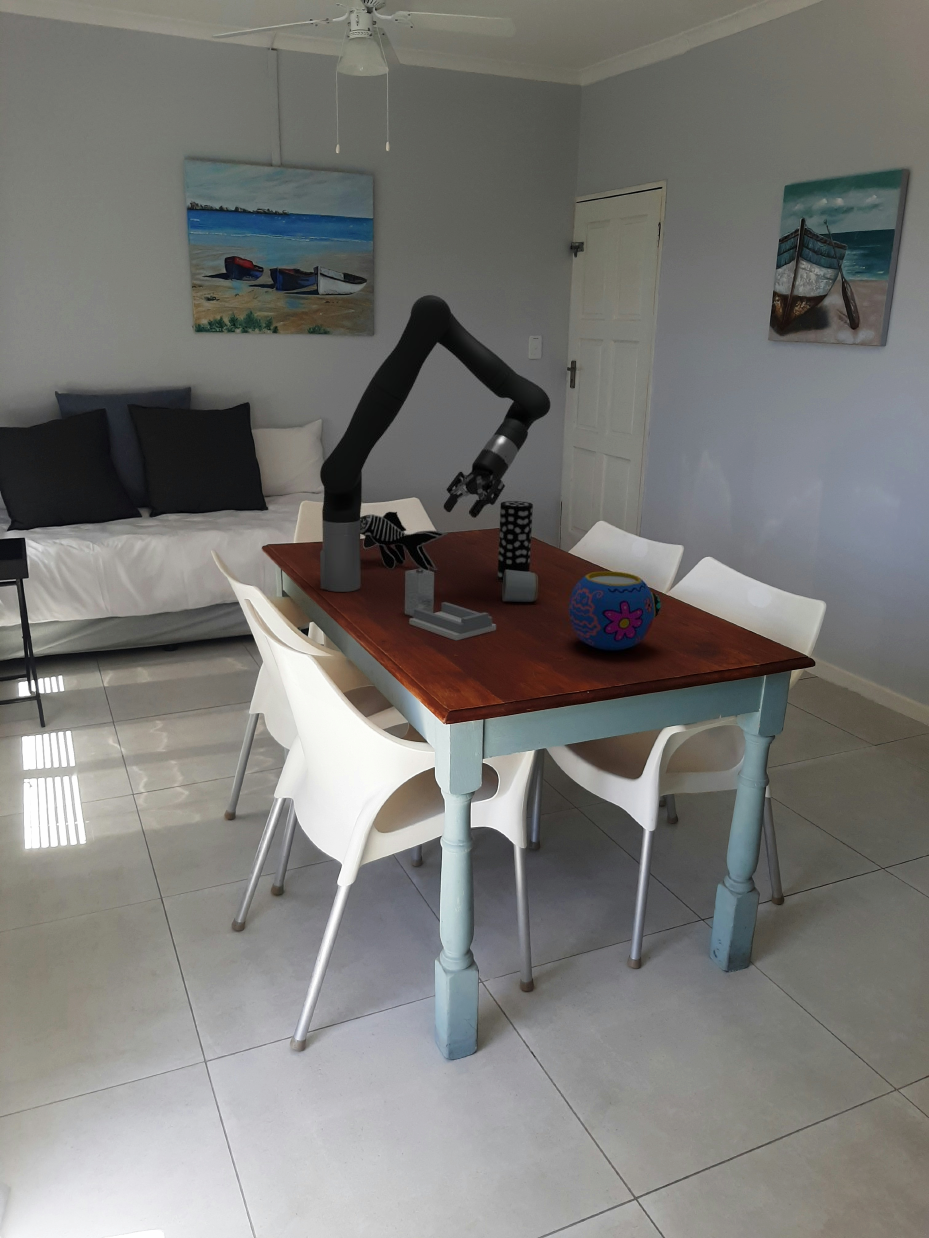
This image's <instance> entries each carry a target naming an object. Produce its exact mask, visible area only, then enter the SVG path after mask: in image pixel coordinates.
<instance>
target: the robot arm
mask: <svg viewBox="0 0 929 1238" xmlns="http://www.w3.org/2000/svg"><path fill="white" fill-rule="evenodd" d="M437 344H439V345H441V346H442V347H443V348H445V349H446V350H447V351H449V352H450V353H451V354H452V355H453V356H454V357H455V358H456V359H457V360H459V361H460V363H462V364H463V365H464V367H466V369H467V370H468V371H469V372H471V374H472V375H473V376H474V377H475V378H476V379H477V380H479V382H481V384H482V385H484V386H485V387H486V388H487V389H488V390H489V391H490V392H492V393H493V394H494V395H495V396H496V397H498V398H500V399H510V400H511V401H513V402H512V403H511V404H510V405H509V407H508V409H507V412H506V414H505V416H504V418H503V421H502V422H501V424H500V425H499V427H497V429H496V431H495V432H494V433H493V435H492V436H491V438H490V439H489V440H488V441H487V443H485V445H484V446H483V448H482V449H481V451H480V452H479V453H478V455H477V457H476V458H475V459H474V461H473V463H472V465H471V471H470V472H469V473H468V474H465V473H464V472H463V471H459V472H458V473H457V474H456V475H455V477H454V479H453V480H452V481H451V482H450V484H448V486H447V488H446V492H447V493H448V494H449V496H448V497H447V499H446V501H445V502H444V503H443V509H444V510H445V511H446V513H451V512H452V511H453V509H454V508H455V506H456V505H457V503H458V501H459V500H460V499H463V498H464V497H465V498H466V497H468V496H469V495H476V496H477V497H478V498H477V499H476V500H475V501H474V503H473V505H472V506H471V508H470V509H469V510H468V514H469V515H470V517H471V518H474V519H476V518H477V517H478V516H479V515H480V514H481V512H482V511H483V509H484V508H485V507H487V506H488V505H491V506H493V505H495V504H496V502H497V501H498V499H499V497H500V495H501V494H502V492H503V491H504V489H505V487H506V485H505V482H503V480H502V479H503V477H504V476H505V474H506V473H507V471H508V470H509V468H510V467H511V465H512V463H514V460H515V459H516V456H517V454H518V453H519V451H520V450H521V449H522V446H523V445H524V444H525V442H526V441H527V439H528V434H529V432H528V431H529V429H530V427H532V425H533V424H534V423H535V422H536V421H537V420H539V419H541V418H544V417H545V416H546V415H547V414H548V413H549V411H550V408H551V401H550V397H549V395H548V393H547V392H546V391H545V390H544V389H543V388H541V386H539V385H537V383H534V382H533V381H531V380H529V379H528V378H526V377H524V376H521V375H520V374H518V373H517V372H516V371H514V369H513V368H512V367H510V366H509V364H507V363H506V362H505V361H504V360H502V358H500V356H498V355H497V354H496V353H494V352H493V351H492V350H491V349H490V348H488V347H487V346H486V345H485V344H483V343H482V342H480V341H479V340H478V339H477V338H476V337H474V335H472V334H471V333H470V332H469V331H468V330H467V329H466V328H465V327H464V326H463V325H462V323H460V321H459V320H458V319H457V318H456V317H455V316H454V314H453V313H452V311H451V308H450V306H449V304H448V302H446V301H445V300H444V299H443V298H441V297H440V296H437V295H434V294H428V295H427V294H426V295H423V296H421V297H419V298H418V299H416V300H415V302H413V305H412V307H411V310H410V316H409V319H408V321H407V323H406V326H405V328H404V330H403V332H402V334H401V336H400V338H399V340H398V342H397V344H396V345H395V347H394V348H393V350H392V351H391V352H390V354H388V356H387V357H386V358H385V360H384V361H383V362H382V363H381V365H379V368H378V369H377V371H376V372H375V374H374V375H373V376H372V378H371V380H370V382H369V383H368V385H367V386H366V388H365V390H364V392H363V393H362V395H361V398H360V399H359V402H358V404H357V406H356V408H355V410H354V412H353V414H352V417H351V418H350V421H349V424H348V426H347V428H346V430H345V432H344V433H343V435H342V437H341V438H340V440H339V442H338V443H337V445H336V446H335V448H334V449H333V450H332V451H331V453H330V454H329V456H328V457H327V458H326V459H325V460H324V462H322V465H321V468H320V472H319V477H320V482H321V484H322V486H323V504H322V509H321V510H322V511H321V517H322V518H321V519H322V524H321V525H322V549H321V550H320V551H319V553H320V556H319V557H320V558H319V561H320V563H319V564H320V568H319V569H320V571H319V572H320V573H319V574H320V589H321V590H326V591H328V592H329V591H330V592H337V593H339V592H341V593H344V592H346V593H347V592H354V591H357V590H359V589H360V588H361V582H362V581H361V580H362V579H361V534H360V517H361V509H362V497H363V496H362V495H363V494H362V491H363V488H362V487H363V485H362V484H363V478H362V477H363V472H362V469H363V468H364V466H365V464H366V461H367V459H368V457H369V456H370V453H371V452H372V450H373V448H374V447H375V445H376V444H377V443H378V442H379V440H380V439H381V438H382V436H383V435H384V434H385V433H386V432H387V430H388V429H389V427H390V426H391V424H392V423H393V422H394V420H395V419H396V417H397V416H398V414H399V413H400V410H402V407H403V406H404V404H405V402H406V400H407V399H408V396H409V395H410V393H411V391H412V388H413V387H414V385H415V382H416V381H417V378H418V376H419V373H420V371H421V370H422V367H423V365H424V363H425V361H426V360H427V358H428V357H429V355H430V353H431V352H432V351H433V350H434V348H435V347H436V345H437ZM464 487H465V488H464ZM459 492H460V493H459Z"/></svg>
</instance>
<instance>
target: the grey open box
mask: <svg viewBox="0 0 929 1238" xmlns="http://www.w3.org/2000/svg"><path fill="white" fill-rule="evenodd" d="M440 604H441V606H440V607H441V610H440V611H437V612H433V613H431V612H428V611H425V610H422V609H419V608H417V609H414V617H412V618H409V620H408V621H409V625H411V626H414V627H417V628H420V629H423V630H426V631H428V632H430V633H433V634H437V635H439V636H442V637H445V638H448V639H451V640H453V641H460V640H462V639H463V640H464V639H467V638H471V637H474V636H479V635H482V634H487V633H489V632H490V633H491V632H494V631H497V624H496V623H493V617H492V616H491V615H489V613H488V612H485V611H484V612H478V611H474V610H471V609H468V608H465V607H462V606H459V605H456V604H453V603H450V602H446V601H444V602H441V603H440Z"/></svg>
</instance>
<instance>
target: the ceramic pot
mask: <svg viewBox="0 0 929 1238" xmlns="http://www.w3.org/2000/svg"><path fill="white" fill-rule="evenodd" d="M661 608H662V605H661V599H660V597H659V596H658V595H657V594H656V593H653V592H652V590H650V588H649V585H648V584H647V583H646V582H645V581H644V580H643V579H642V578H640V577H639V576H637V575H635V574H631V573H629V572H620V571H610V570H609V571H608V570H607V571H594V572H590V573H588V574H586V575H584V576H583V577H582V578H581V579H580V580H579V581H578V582H577V583H576V585H575V586H574V588H573V590H572V593H571V594H570V598H569V603H568V615H569V621H570V625H571V626H572V630H573V631H574V633H575V636H576V637H578V638H577V639H579V640H581V641H582V642H583V643H584V644H585V645H588V646H591V647H592V648H595V649H598V650H602V651H613V652H614V651H621V650H622V651H623V650H626V649H628V648H631V647H634V646H636V645H638V644H639V643H641V641H643V640H644V638H645V637H646V636H647V635H648V633H649V631H650V629H651V627H652V625H653V622H654V620H655V619H656V617H657V616H658V615H659V613H660V611H661Z"/></svg>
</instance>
